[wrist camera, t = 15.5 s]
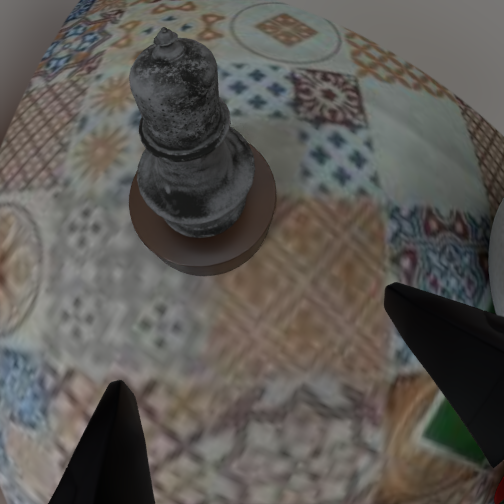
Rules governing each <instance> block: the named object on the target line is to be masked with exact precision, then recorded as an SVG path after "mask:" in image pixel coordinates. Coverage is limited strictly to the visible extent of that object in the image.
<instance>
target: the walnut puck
mask: <svg viewBox="0 0 504 504" xmlns="http://www.w3.org/2000/svg"><path fill="white" fill-rule="evenodd" d="M248 144H249V143H248ZM249 146H250V148H251V151H252V153H253V155H254V163H255V173H254V178H253V183H252V186H251V188H250V190H249V192H248V194H247V197H246V202H245V207H244V209H243V211H242V213H241V215H240V217H239V219H238V220H237V221H236V222H235V223H234V224H233V225H232V226H231V227H230V228H228V229H227V230H225V231H224V232H222V233H220V234H217V235H214V236H211V237H204V238H195V237H189V236H185V235H183V234H181V233H179V232H177V231H175V230H174V229H173V228H172V227H170V226H169V225H168V224H167V223H166V221H165V219H164V218H163V217H161V216H159V215H158V214H156V213H155V212H154V211H153V210H152V209H151V208H150V207H149V206H148V205H147V204H146V202H145V200H144V199H143V197H142V195H141V194H140V190H139V186H138V182H137V174H138V170H137V172H136V174H135V177H134V179H133V182H132V185H131V189H130V195H129V210H130V216H131V220H132V223H133V226H134V228H135V231H136V232H137V234H138V236H139V237H140V239H141V240H142V241H143V243H144V244H145V245H146V246H147V247H148V248H149V249H150V250H151V251H152V252H153V253H155V254H156V255H157V256H158V257H159V258H160V259H162V260H163V261H164V262H165V263H166V264H168V265H169V266H171V267H172V268H174V269H176V270H178V271H181V272H184V273H187V274H191V275H197V276H211V275H218V274H222V273H225V272H228V271H231V270H233V269H235V268H237V267H239V266H240V265H242V264H243V263H245V262H246V261H247V260H249V259H250V258H251V257H252V256H253V255H254V254H255V253H256V251H257V250H258V249H259V247H260V246H261V244H262V243H263V241H264V239H265V237H266V235H267V232H268V229H269V226H270V223H271V220H272V217H273V214H274V211H275V205H276V185H275V180H274V177H273V174H272V171H271V169H270V167H269V165H268V163H267V162H266V160H265V159H264V157H263V156H262V155H261V154H260V153H259V152H258V151H257V150H256V149H255V148H254V147H253V146H252V145H250V144H249Z"/></svg>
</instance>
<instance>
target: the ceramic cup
mask: <svg viewBox="0 0 504 504" xmlns="http://www.w3.org/2000/svg"><path fill="white" fill-rule="evenodd" d="M503 499H504V477H503V478H502V480H501V482H500V483H499V486H498V488H497V490H496V493H495V497H494V502H495V504H499V503H500V502H501V501H502V500H503Z"/></svg>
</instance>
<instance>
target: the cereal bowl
mask: <svg viewBox="0 0 504 504" xmlns="http://www.w3.org/2000/svg"><path fill="white" fill-rule="evenodd" d="M489 244H490V245H489V258H488V265H489V269H488V270H489V280H490V289H491V295H492V299H493V304H494V307H495V312H496V315H500V316H503V317H504V198H503V200H502V202H501V204H500V205H499V208H498V210H497V213H496V216H495V217H494V223H493V225H492V231H491V235H490V241H489Z"/></svg>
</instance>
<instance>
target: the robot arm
mask: <svg viewBox="0 0 504 504" xmlns="http://www.w3.org/2000/svg"><path fill="white" fill-rule="evenodd" d="M384 308H385V310H386V312H387V314H388V315H389V317H390V319H391V320H392V322H393V323H394V325H395V327H396V328H397V330H398V332H399V333H400V335H401V336H402V338H403V340H404V341H405V343H406V344H407V346H408V347H409V348H410V350H411V351H412V352H413V354H414V355H415V356H416V358H417V359H418V360H419V362H420V363H421V364H422V366H423V367H424V368H425V370H426V371H427V372H428V374H429V375H430V376H431V378H432V379H433V380H434V382H435V383H436V385H437V386H438V387H439V389H440V390H441V391H442V393H443V394H444V396H445V397H446V398H447V400H448V401H449V403H450V404H451V406H452V407H453V408H454V410H455V411H456V413H457V414H458V416H459V417H460V419H461V420H462V421H463V423H464V424H465V426H466V427H467V429H468V431H469V432H470V434H471V435H472V437H473V438H474V440H475V441H476V443H477V444H478V446H479V447H480V449H481V450H482V452H483V454H484V455H485V457H486V458H487V460H488V461H489V463H490V465H491V466H492V467H493V468H494V467H496V466H497V465H498V464H499V463H501V462H502V461H503V460H504V317H503V316H500V315H496V314H493V313H490V312H487V311H483V310H481V309H478V308H475V307H472V306H469V305H466V304H463V303H460V302H457V301H454V300H451V299H448V298H445V297H442V296H438V295H435V294H432V293H429V292H426V291H423V290H420V289H417V288H414V287H411V286H407V285H404V284H401V283H398V282H394V283H392V284H390V285H388V286H386V288H385V297H384ZM48 504H155V500H154V494H153V489H152V483H151V477H150V471H149V464H148V457H147V450H146V443H145V438H144V433H143V429H142V425H141V420H140V416H139V411H138V406H137V401H136V398H135V396H134V394H133V393H132V391H131V390H130V389H129V388H128V386H127V385H126V384H125V383H124V382H123V381H122V380H118V381H114V382H111V383H110V384H109V385H108V387H107V389H106V391H105V393H104V394H103V396H102V398H101V400H100V402H99V404H98V406H97V408H96V410H95V412H94V413H93V415H92V417H91V419H90V421H89V423H88V425H87V427H86V429H85V431H84V433H83V435H82V437H81V439H80V441H79V443H78V445H77V447H76V449H75V451H74V453H73V455H72V458H71V460H70V462H69V464H68V467H67V468H66V470H65V472H64V474H63V476H62V478H61V480H60V482H59V485H58V487H57V488H56V490H55V492H54V494H53V496H52V498H51V499H50V501H49V503H48ZM499 504H504V499H503V500H502V501H501V502H500V503H499Z"/></svg>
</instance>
